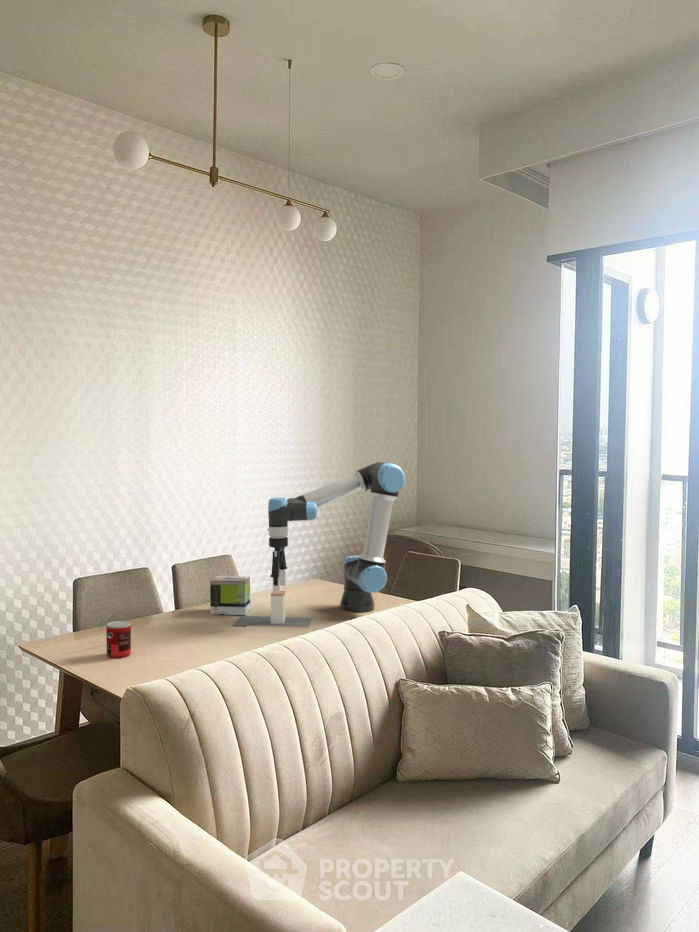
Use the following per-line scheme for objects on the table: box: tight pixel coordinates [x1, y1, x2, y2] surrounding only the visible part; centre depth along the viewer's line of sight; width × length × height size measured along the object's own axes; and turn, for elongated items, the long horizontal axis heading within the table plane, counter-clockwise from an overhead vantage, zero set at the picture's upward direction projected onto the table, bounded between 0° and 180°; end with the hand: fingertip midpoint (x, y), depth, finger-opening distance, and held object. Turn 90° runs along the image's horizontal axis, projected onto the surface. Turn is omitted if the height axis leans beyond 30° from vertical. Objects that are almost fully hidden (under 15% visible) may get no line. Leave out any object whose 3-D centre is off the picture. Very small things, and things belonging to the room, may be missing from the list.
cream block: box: [270, 590, 286, 624], centre depth 288 cm, size 5×5×12 cm
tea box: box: [209, 575, 251, 616], centre depth 304 cm, size 15×10×15 cm
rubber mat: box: [232, 615, 314, 628], centre depth 289 cm, size 30×14×1 cm, turn 86°
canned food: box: [105, 620, 132, 659], centre depth 245 cm, size 8×8×11 cm
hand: (279, 589), depth 288 cm, fingers open, 13 cm apart
